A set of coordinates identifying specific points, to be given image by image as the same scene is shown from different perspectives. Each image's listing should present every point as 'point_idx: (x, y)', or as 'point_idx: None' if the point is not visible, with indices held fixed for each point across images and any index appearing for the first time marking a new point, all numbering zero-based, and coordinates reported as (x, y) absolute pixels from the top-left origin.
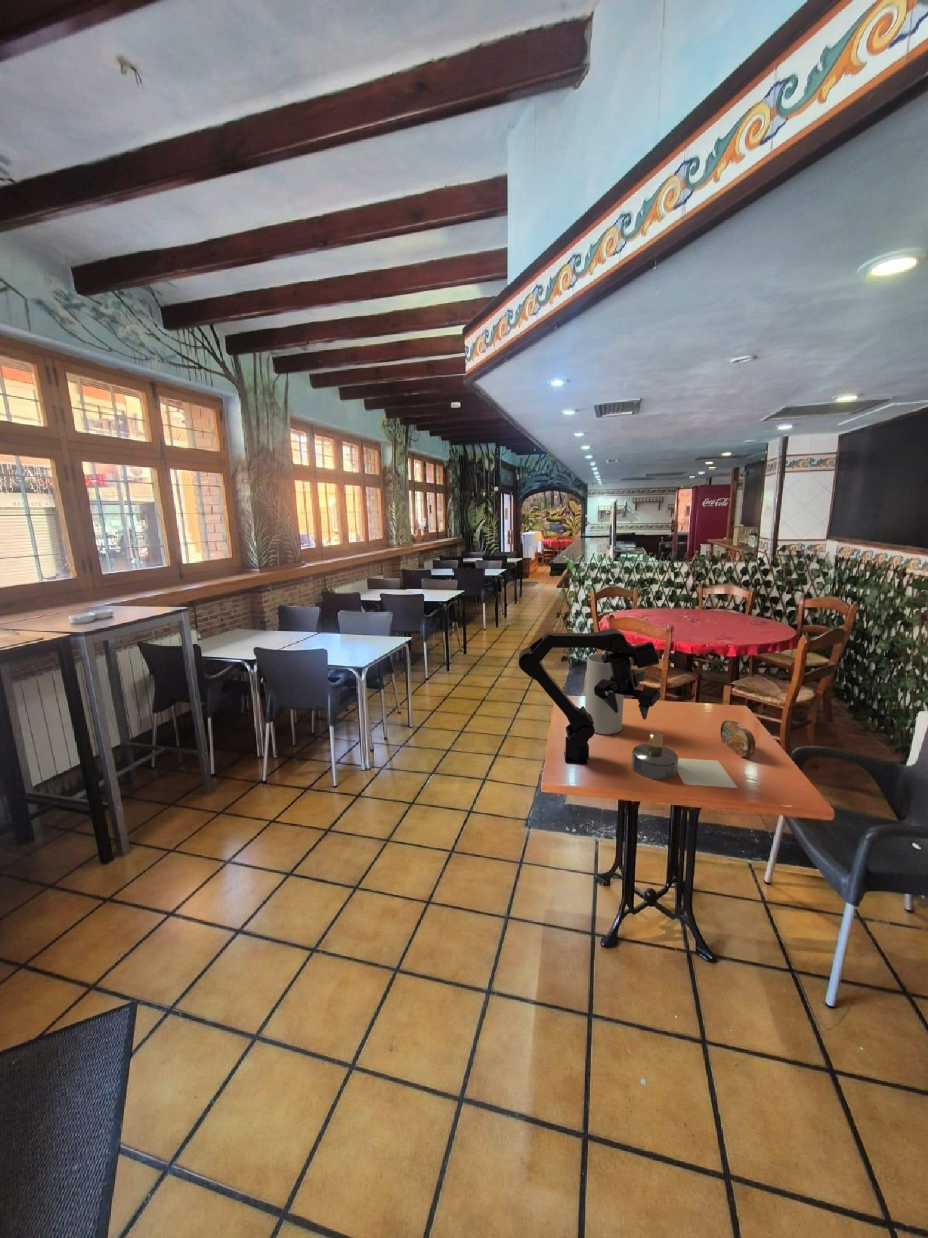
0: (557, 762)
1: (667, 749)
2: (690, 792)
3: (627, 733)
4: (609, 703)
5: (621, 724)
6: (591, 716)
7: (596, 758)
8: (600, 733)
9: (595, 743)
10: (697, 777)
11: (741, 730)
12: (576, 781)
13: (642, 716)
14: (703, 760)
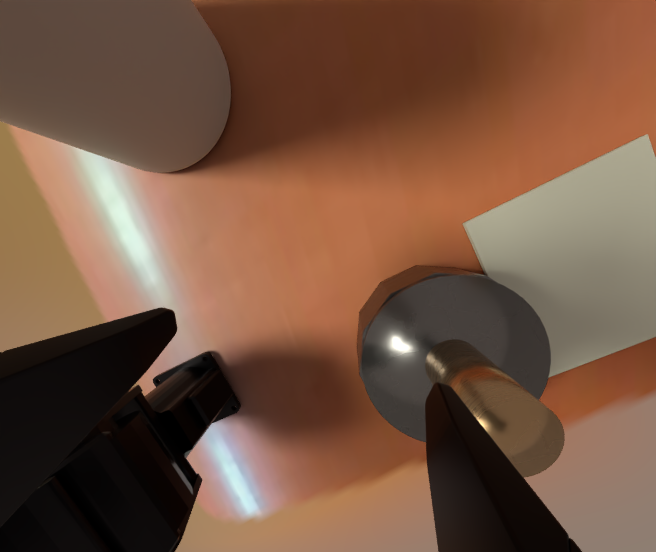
0: None
1: (497, 298)
2: (552, 407)
3: (262, 87)
4: (8, 515)
5: (217, 61)
6: (67, 515)
7: (248, 355)
8: (179, 169)
9: (200, 253)
10: (573, 317)
11: None
12: (258, 499)
13: (433, 471)
14: (589, 168)
